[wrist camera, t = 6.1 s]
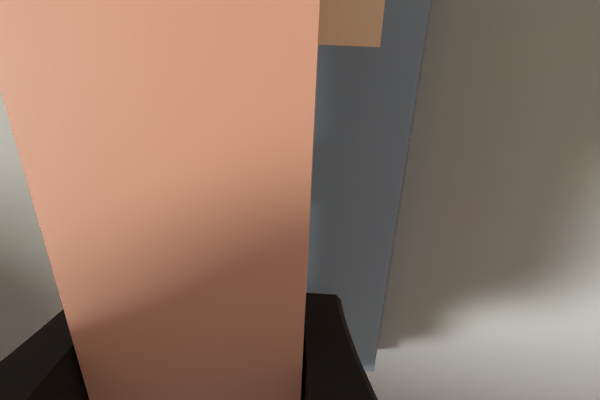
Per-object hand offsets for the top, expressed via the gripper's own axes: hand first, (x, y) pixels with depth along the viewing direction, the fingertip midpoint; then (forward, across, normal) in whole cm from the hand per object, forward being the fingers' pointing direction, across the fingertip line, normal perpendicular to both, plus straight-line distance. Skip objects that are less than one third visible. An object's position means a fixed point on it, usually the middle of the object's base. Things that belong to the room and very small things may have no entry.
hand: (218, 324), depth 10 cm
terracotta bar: (+3, 0, 0) cm, 3 cm away
